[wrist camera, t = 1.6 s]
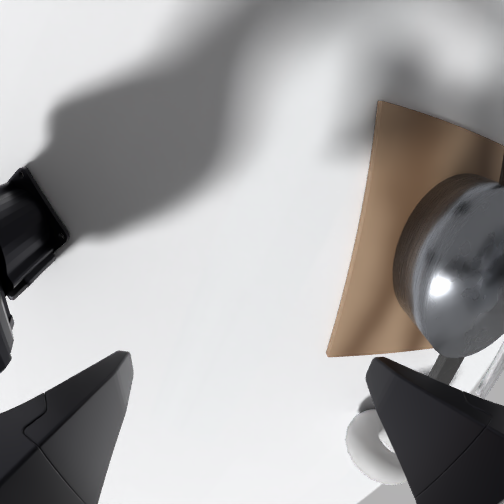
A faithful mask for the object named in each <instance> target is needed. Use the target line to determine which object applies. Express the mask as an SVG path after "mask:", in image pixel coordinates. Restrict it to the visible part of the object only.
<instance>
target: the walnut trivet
mask: <svg viewBox="0 0 504 504" xmlns="http://www.w3.org/2000/svg"><path fill="white" fill-rule="evenodd" d="M503 155H504V146H503V145H501V144H499V143H497V142H494V141H492V140H490V139H488V138H486V137H483V136H481V135H479V134H476V133H474V132H472V131H469V130H467V129H464V128H462V127H459V126H457V125H454V124H452V123H449V122H446V121H444V120H441V119H438V118H435V117H433V116H430V115H427V114H424V113H421V112H418V111H415V110H411V109H408V108H405V107H402V106H398V105H395V104H392V103H388V102H384V101H378V104H377V113H376V121H375V129H374V137H373V144H372V151H371V158H370V165H369V171H368V177H367V183H366V189H365V194H364V200H363V205H362V210H361V215H360V220H359V225H358V230H357V235H356V240H355V244H354V249H353V253H352V258H351V262H350V266H349V270H348V274H347V279H346V283H345V287H344V290H343V294H342V298H341V302H340V306H339V309H338V313H337V317H336V320H335V324H334V327H333V331H332V334H331V338H330V341H329V345H328V348H327V351H326V354H327V356H328V357H343V356H359V355H373V354H385V353H395V352H405V351H414V350H422V349H430V348H433V347H432V345H431V344H430V343H429V341H428V340H427V339H426V338H425V336H424V335H423V334H422V333H421V331H420V330H419V329H418V328H417V326H416V325H415V324H414V323H413V321H412V320H411V319H410V318H409V316H408V315H407V314H406V313H405V312H404V310H403V309H402V308H401V306H400V305H399V303H398V301H397V298H396V295H395V292H394V287H393V272H392V270H393V261H394V256H395V251H396V247H397V244H398V241H399V237H400V235H401V233H402V230H403V228H404V226H405V224H406V222H407V220H408V218H409V216H410V215H411V213H412V211H413V210H414V208H415V207H416V205H417V204H418V203H419V202H420V201H421V199H422V198H423V197H424V196H425V195H426V194H427V193H428V192H429V191H430V190H431V189H432V188H433V187H435V186H436V185H437V184H438V183H440V182H442V181H443V180H445V179H447V178H449V177H452V176H454V175H458V174H463V173H471V174H476V175H480V176H483V177H486V178H488V179H491V180H494V181H497V182H499V179H500V173H501V168H502V161H503Z"/></svg>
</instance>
